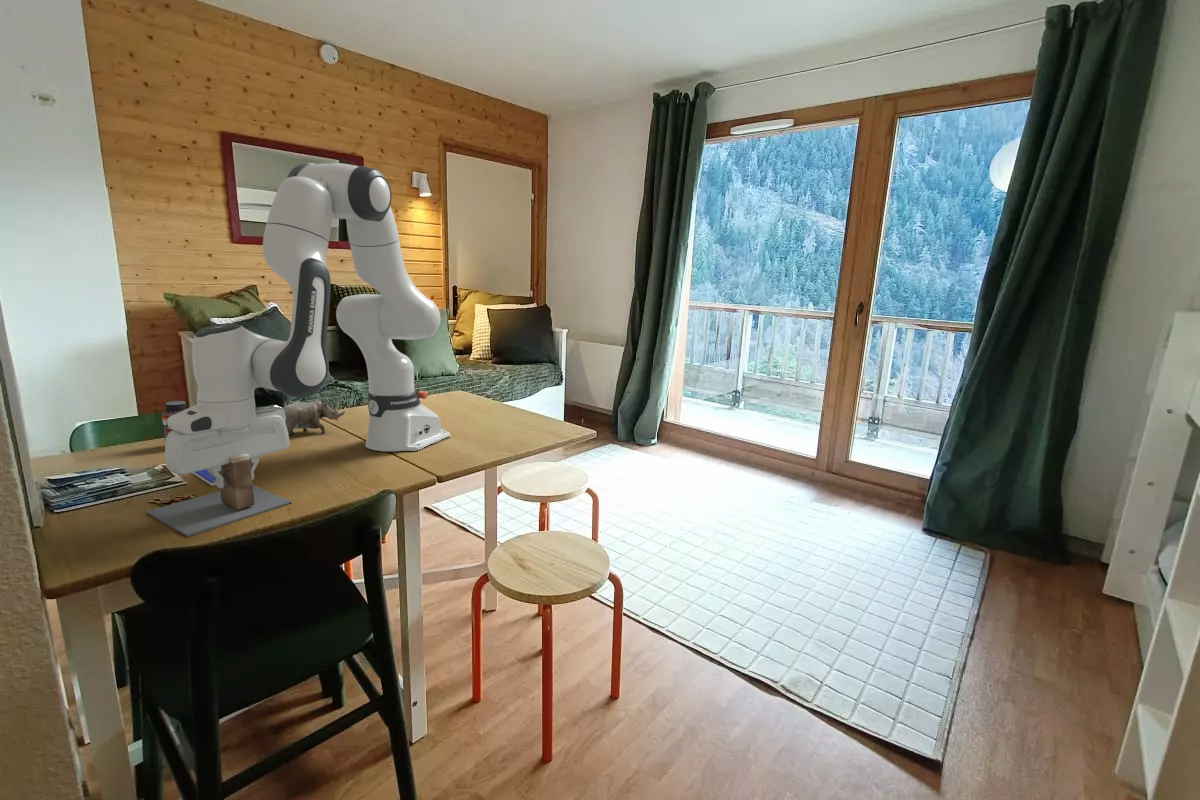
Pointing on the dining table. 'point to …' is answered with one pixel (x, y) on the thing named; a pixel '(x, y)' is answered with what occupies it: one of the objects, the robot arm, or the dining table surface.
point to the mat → (213, 511)
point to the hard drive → (206, 476)
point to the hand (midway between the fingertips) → (235, 483)
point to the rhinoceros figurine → (308, 415)
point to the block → (238, 482)
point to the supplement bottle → (171, 410)
